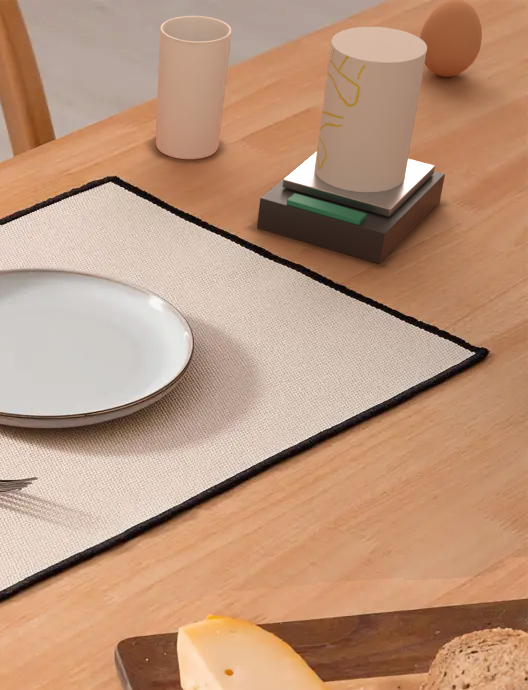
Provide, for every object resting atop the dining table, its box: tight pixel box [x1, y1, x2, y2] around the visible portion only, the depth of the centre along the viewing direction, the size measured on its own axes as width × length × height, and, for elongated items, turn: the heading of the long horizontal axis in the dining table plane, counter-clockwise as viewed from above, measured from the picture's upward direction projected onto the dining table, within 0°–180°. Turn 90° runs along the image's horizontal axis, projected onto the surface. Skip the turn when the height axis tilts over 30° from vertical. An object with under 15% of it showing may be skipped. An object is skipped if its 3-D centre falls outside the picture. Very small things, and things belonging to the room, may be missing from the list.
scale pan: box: [282, 150, 436, 217], centre depth 142 cm, size 10×10×1 cm
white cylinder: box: [315, 26, 427, 192], centre depth 138 cm, size 8×8×12 cm
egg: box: [419, 0, 483, 78], centre depth 166 cm, size 6×6×8 cm
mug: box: [155, 15, 232, 160], centre depth 152 cm, size 10×7×12 cm, turn 163°
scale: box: [256, 151, 446, 265], centre depth 142 cm, size 12×14×4 cm
